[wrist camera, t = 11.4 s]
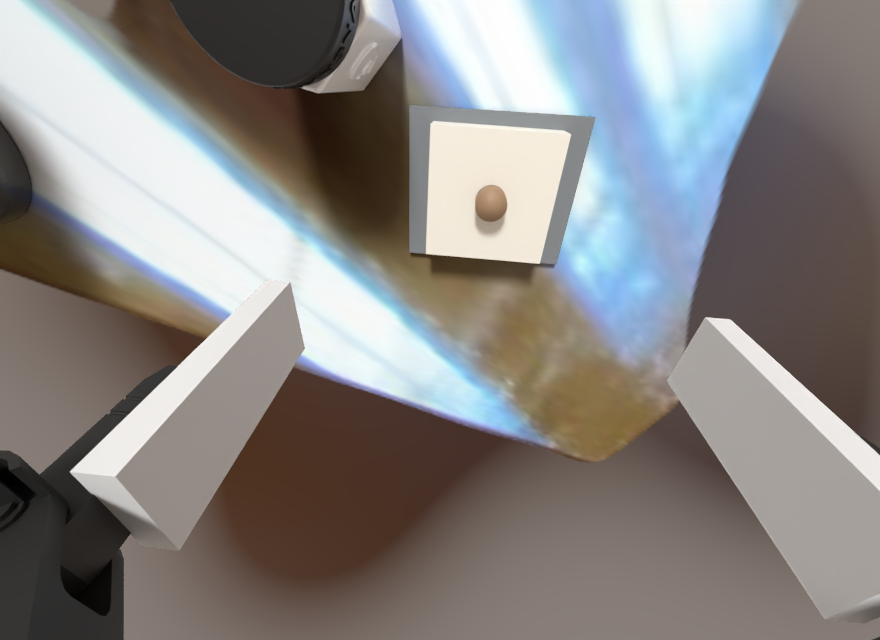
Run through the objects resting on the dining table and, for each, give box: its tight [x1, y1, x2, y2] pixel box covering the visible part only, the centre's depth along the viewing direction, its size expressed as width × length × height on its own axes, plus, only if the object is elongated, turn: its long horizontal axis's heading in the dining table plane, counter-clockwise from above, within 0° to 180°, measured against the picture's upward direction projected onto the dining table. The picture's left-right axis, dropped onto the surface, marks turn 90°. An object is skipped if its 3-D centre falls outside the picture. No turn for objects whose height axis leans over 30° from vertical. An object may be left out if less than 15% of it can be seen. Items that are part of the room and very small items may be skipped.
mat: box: [409, 105, 595, 264], centre depth 30 cm, size 14×12×1 cm
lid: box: [426, 121, 571, 264], centre depth 28 cm, size 10×10×4 cm
